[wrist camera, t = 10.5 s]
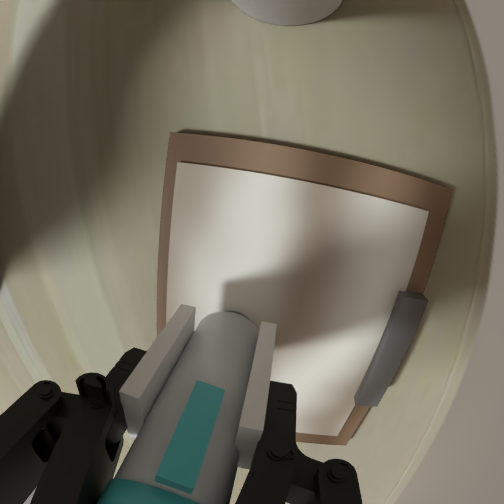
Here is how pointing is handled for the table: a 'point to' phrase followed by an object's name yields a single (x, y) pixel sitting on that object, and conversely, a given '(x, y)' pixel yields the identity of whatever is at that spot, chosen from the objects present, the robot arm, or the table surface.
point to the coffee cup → (287, 10)
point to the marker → (192, 422)
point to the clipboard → (302, 264)
